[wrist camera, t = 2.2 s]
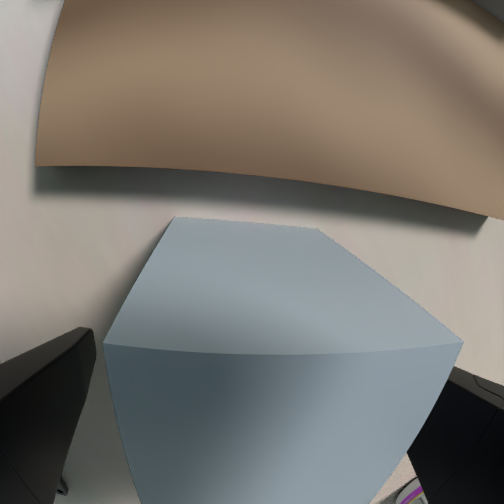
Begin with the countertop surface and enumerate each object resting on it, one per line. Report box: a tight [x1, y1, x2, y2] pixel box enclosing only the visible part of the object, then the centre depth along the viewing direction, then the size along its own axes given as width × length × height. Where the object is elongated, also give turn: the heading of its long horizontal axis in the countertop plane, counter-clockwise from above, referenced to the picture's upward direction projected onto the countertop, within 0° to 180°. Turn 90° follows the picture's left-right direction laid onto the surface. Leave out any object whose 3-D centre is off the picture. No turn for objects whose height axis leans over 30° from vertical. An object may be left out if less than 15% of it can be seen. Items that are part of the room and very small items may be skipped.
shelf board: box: [35, 0, 504, 220], centre depth 7 cm, size 10×17×3 cm, turn 84°
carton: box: [103, 217, 464, 504], centre depth 7 cm, size 5×7×7 cm
